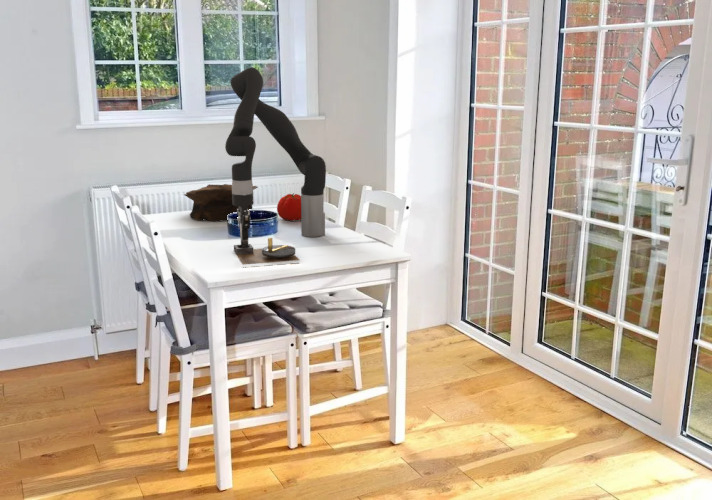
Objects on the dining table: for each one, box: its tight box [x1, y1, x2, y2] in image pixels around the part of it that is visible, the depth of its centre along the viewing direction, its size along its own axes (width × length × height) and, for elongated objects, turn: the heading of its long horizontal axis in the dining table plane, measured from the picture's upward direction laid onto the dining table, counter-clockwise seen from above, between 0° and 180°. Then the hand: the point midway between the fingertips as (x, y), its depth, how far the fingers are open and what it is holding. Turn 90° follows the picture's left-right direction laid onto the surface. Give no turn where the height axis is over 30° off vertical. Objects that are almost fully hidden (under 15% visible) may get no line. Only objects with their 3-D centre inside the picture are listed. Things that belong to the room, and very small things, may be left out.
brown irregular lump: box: [182, 183, 259, 222], centre depth 330 cm, size 34×33×15 cm
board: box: [233, 243, 300, 268], centre depth 257 cm, size 20×20×3 cm
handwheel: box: [261, 237, 296, 258], centre depth 254 cm, size 12×12×6 cm
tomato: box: [276, 192, 301, 222], centre depth 321 cm, size 13×14×12 cm
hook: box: [236, 217, 251, 247], centre depth 259 cm, size 5×3×11 cm, turn 109°
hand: (244, 238), depth 259 cm, fingers closed on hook, 2 cm apart
